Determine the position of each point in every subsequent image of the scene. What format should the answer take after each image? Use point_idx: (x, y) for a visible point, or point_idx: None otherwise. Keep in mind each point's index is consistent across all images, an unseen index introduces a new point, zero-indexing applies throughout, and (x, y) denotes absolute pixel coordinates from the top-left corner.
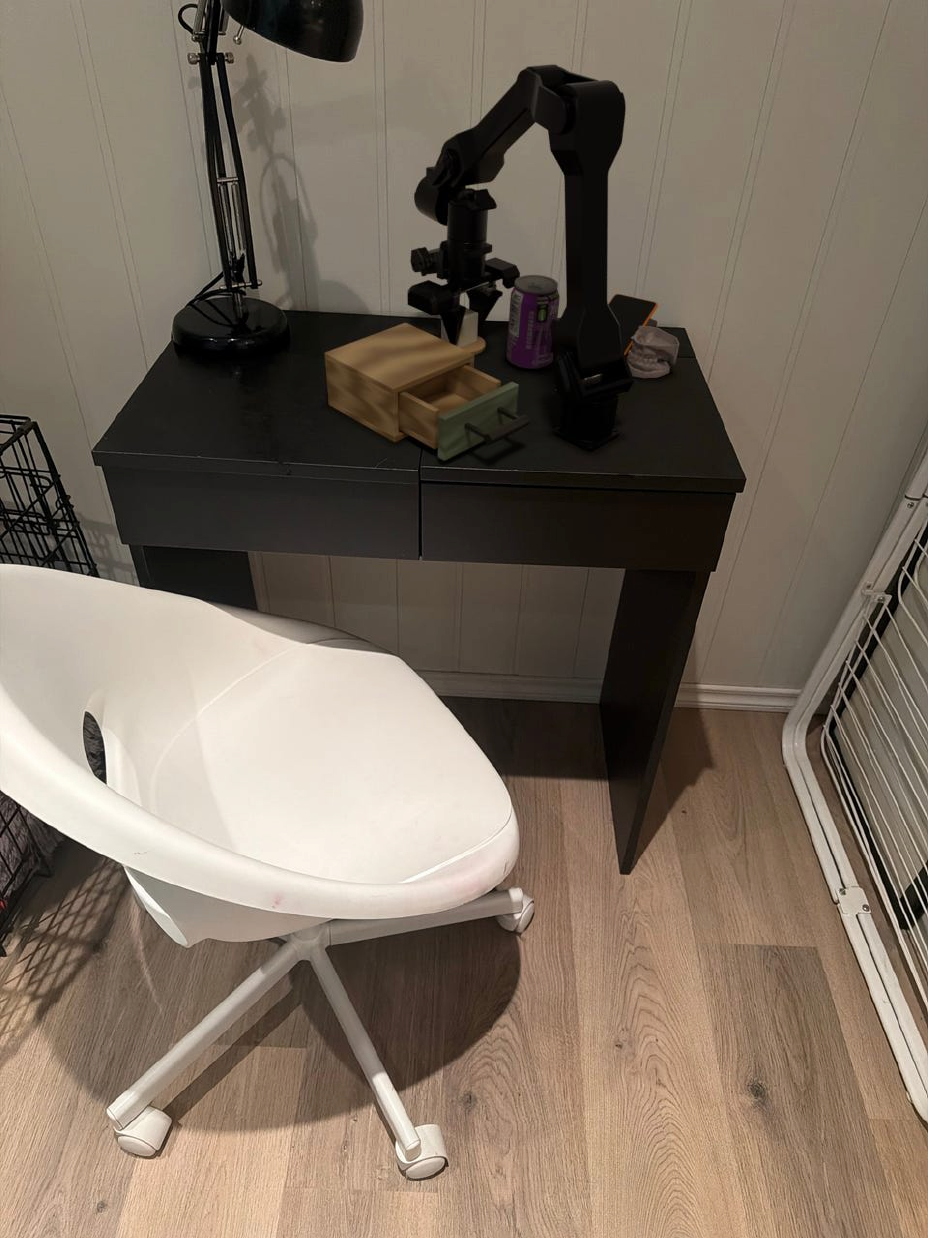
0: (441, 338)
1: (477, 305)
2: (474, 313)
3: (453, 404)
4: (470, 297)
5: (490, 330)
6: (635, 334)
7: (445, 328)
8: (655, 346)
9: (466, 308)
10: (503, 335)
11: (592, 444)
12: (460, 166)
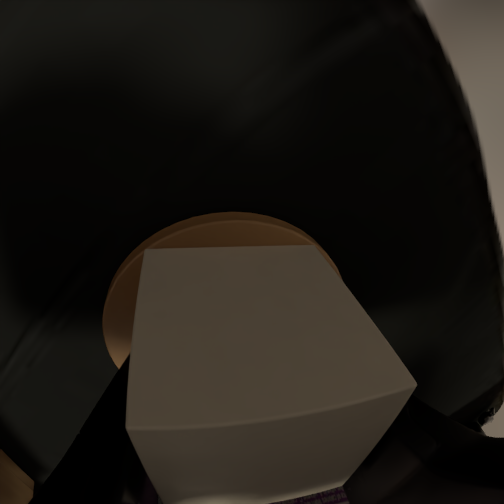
0: (143, 259)
1: (384, 494)
2: (321, 488)
3: None
4: (435, 494)
5: (435, 276)
6: None
7: (96, 411)
8: None
9: (372, 441)
10: (415, 332)
11: None
12: None
